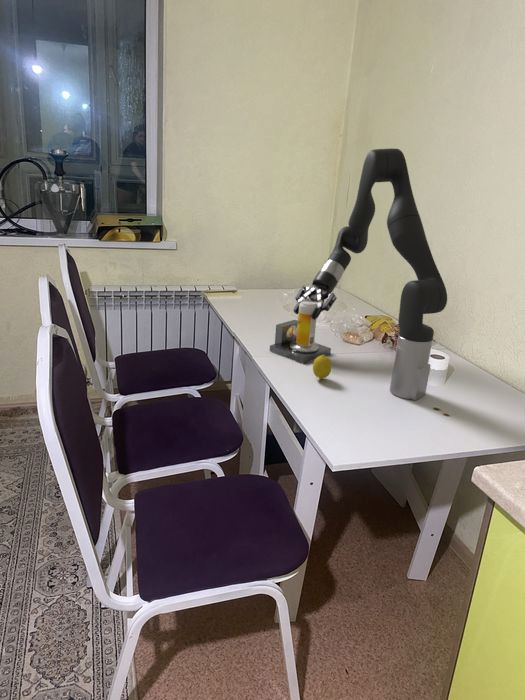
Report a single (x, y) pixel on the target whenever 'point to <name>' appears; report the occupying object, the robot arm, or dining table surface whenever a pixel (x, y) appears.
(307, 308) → the beer can
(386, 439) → the dining table surface
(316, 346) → the pan
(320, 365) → the lemon
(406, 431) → the dining table surface
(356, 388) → the dining table surface
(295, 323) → the scale
